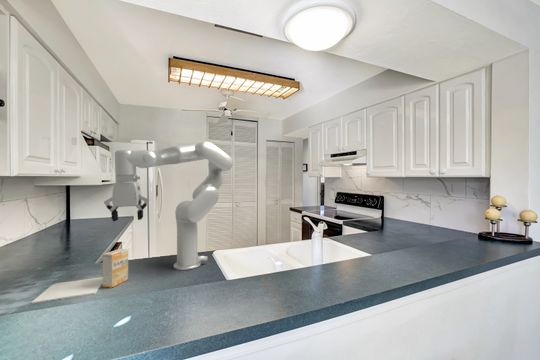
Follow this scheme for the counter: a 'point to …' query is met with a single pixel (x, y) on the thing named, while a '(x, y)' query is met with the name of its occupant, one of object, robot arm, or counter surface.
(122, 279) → the supplement box
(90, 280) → the mat
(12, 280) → the counter surface
